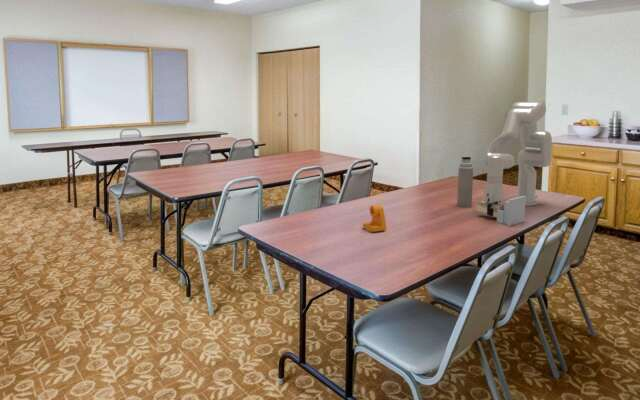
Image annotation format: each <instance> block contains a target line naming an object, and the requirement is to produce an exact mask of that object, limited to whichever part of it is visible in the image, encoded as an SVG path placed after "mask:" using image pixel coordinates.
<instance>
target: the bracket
mask: <svg viewBox="0 0 640 400" xmlns="http://www.w3.org/2000/svg"><path fill="white" fill-rule="evenodd" d="M369 214H370V216H371V221H364V222H362V227H363V228H364V230H366V231H367V232H368V233H375V232H382V231H387V222H386V217H385V211H384V207H383V205H382V204H376V205H374V204H373V205H371V206H370V207H369Z"/></svg>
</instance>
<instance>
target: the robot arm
mask: <svg viewBox="0 0 640 400" xmlns="http://www.w3.org/2000/svg"><path fill="white" fill-rule="evenodd" d="M511 105H512V106H511V109H510V110H508V113H507V116H506V118H505V122H504V125H503V128H502V132H501V134H500V135H498V136H497V137H496V138H494V140H492V141H491V142H490V144H489V146H488V147H487V150H486V153H485V157H484V158H485V159H484V162H485V165H486V166H487V173H486V174H487V175H486V183H485V186H484V191H483V192H484V195H483V201H485V202H484V204H486V206H487V215H486V216H488V215H489V216H488V217H492V216H493V203H496V204H501V202H502V200H503V192H504V191H503V189H504V187H503V182H504V181H503V179H504V178H503V177H504V170H505V169H506V170H507V169H508V170H509V169H510V168H512V167H513V166H515V165H514V164H515V162H516V161H515V157H514V155H512V154H509V153H503V152H501V153H500V152H497V151H498V149H499V148H501V147H503V146H504V145H507V144H510V143H513V142H515V141H516V140H518V139H519V137H520V144H521V146H522V147H524V148H523V149H521V150H520V151H518V153H517V162H518V176H517V177H518V179H517V192H516V193H517V194H516V198H517V197H521V196H526V203H525V207H529V206H530V207H532V206H537V205H538V201H536V199H538V198H539V196H538V195H536V189H537V188H536V187H537V171H536V169H535V167H540V168H548V167H549V166H550V165H551V163H552V156H553V155H552V152H553V150H552V149H553V146H552V144H553V141H552V139H553V137H552V134H551V133H550V131H547V130H538V125H537V123H538V122H539V121H541V119H543V118H544V117H545V115H546V111H547V107H546V104H545V103H544V102H541V101H518V102H513V104H511ZM489 203H491V205H490V204H489Z"/></svg>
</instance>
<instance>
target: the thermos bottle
mask: <svg viewBox="0 0 640 400" xmlns="http://www.w3.org/2000/svg"><path fill="white" fill-rule="evenodd" d="M457 175H458V176H457V177H458V180H457V199H456V200H457V201H456V205H457V207H460V208H471V207H472V205H473V204H472V203H473V183H474V182H473V181H474V167H473V162H472V157H470V156H462V157H461V162H459V166H458V174H457Z"/></svg>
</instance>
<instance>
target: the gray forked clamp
mask: <svg viewBox="0 0 640 400" xmlns="http://www.w3.org/2000/svg"><path fill="white" fill-rule="evenodd" d="M525 203H526V196H521V197H517V196H516V197H512V198H509V199H508V200H506V201H504V204H503V205H504V211H502V210H497V217H496V223H499V224H505V225H506V226H507V227H511V226H513V225H517V224H520V223H523V222H525V216H526V215H525V214H526V206H525Z"/></svg>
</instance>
